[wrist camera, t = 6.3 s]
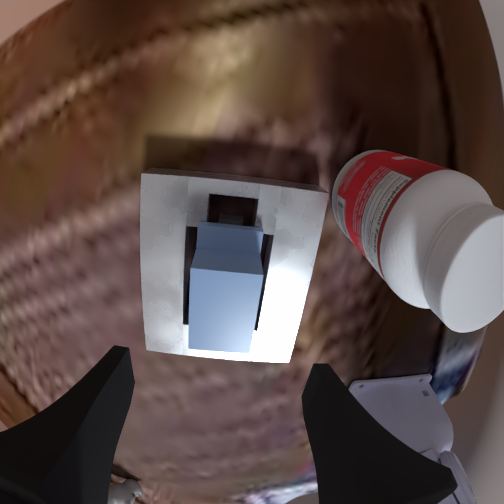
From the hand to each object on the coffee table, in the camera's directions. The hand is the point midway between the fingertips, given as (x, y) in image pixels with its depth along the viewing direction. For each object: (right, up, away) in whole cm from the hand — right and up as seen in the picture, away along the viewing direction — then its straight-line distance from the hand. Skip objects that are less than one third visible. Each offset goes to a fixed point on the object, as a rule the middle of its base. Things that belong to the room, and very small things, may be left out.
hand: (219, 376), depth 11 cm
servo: (0, +4, +9) cm, 9 cm away
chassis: (0, +4, +9) cm, 9 cm away
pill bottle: (+9, +8, +7) cm, 14 cm away
